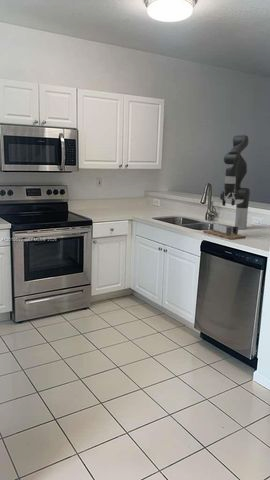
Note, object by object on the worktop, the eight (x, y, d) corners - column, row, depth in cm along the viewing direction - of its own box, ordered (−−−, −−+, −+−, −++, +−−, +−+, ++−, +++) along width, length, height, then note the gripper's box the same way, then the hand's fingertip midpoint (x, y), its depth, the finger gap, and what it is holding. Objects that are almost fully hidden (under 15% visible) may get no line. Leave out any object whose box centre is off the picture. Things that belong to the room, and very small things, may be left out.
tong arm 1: (212, 230, 293) (213, 223, 292) (214, 230, 294) (215, 223, 293) (228, 234, 275) (229, 227, 274) (230, 234, 276) (231, 227, 275)
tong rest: (203, 232, 296) (203, 222, 294) (217, 231, 302) (217, 221, 301) (231, 239, 270) (231, 229, 269) (245, 238, 277) (246, 227, 276)
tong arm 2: (215, 229, 294) (216, 223, 293) (217, 229, 295) (217, 223, 294) (236, 233, 279) (236, 227, 278) (237, 233, 280) (238, 226, 279)
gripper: (226, 183, 270) (224, 206, 273) (241, 183, 277) (239, 205, 280) (218, 182, 276) (217, 205, 279) (233, 182, 283) (232, 204, 286)
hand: (228, 205), depth 279 cm, fingers open, 8 cm apart
